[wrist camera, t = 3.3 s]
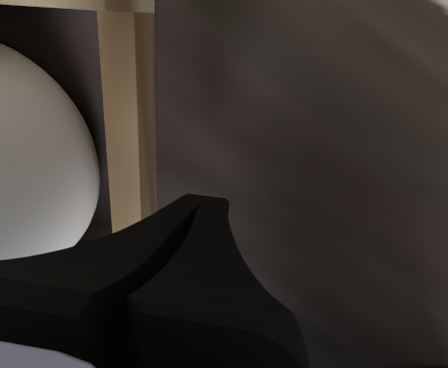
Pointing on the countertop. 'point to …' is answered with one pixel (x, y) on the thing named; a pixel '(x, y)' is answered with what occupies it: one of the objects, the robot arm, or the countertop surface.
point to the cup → (42, 162)
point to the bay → (125, 101)
